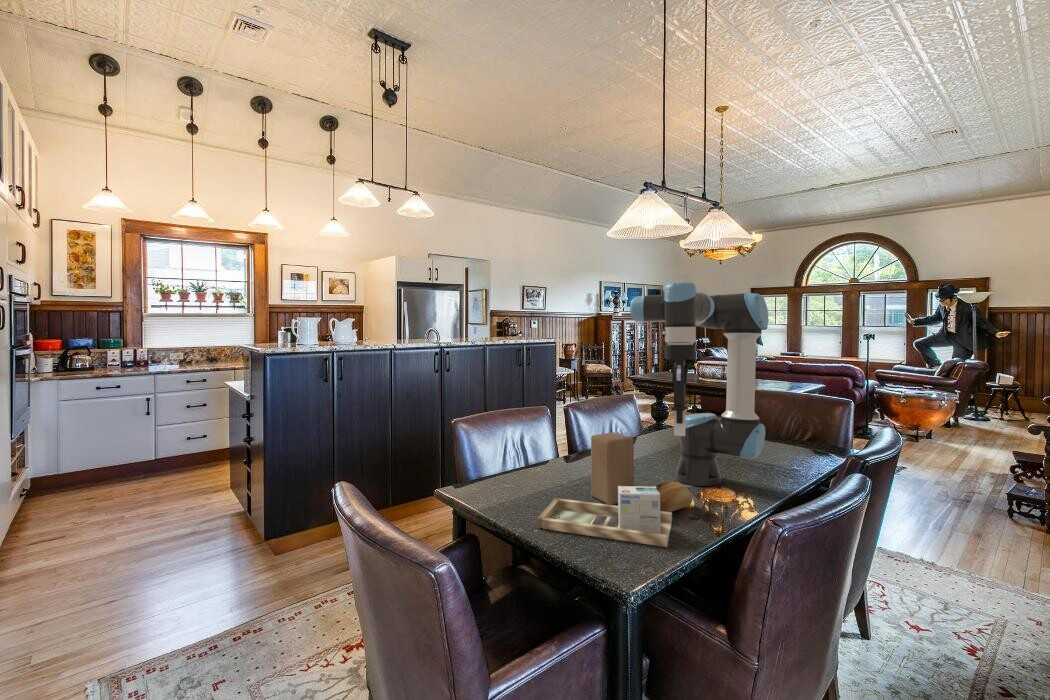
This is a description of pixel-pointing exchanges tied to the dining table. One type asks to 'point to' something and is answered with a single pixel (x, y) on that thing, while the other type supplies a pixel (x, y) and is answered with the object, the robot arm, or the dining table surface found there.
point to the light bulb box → (639, 508)
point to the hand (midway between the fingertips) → (679, 435)
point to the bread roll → (673, 496)
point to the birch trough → (599, 522)
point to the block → (611, 465)
